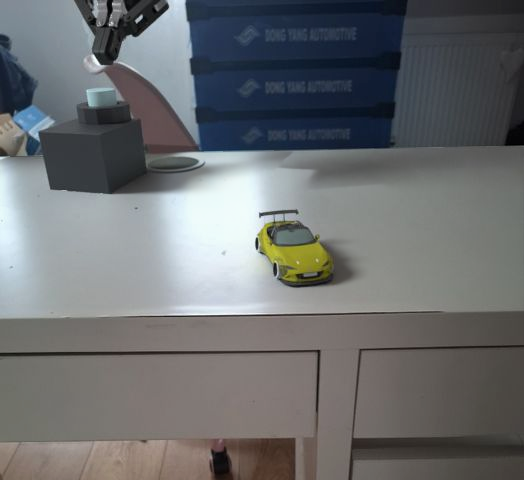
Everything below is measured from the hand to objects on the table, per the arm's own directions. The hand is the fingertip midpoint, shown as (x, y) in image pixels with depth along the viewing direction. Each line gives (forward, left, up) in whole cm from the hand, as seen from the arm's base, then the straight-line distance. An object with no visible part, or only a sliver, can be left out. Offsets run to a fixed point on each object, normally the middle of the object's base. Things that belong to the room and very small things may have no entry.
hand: (103, 60), depth 67 cm
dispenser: (-3, -4, -13) cm, 14 cm away
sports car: (+6, -37, -13) cm, 40 cm away
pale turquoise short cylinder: (-1, -1, -5) cm, 5 cm away
